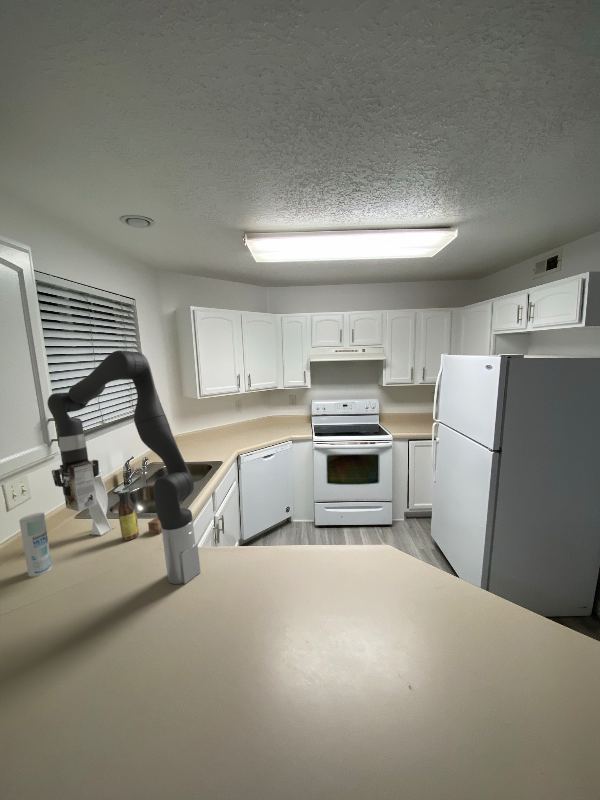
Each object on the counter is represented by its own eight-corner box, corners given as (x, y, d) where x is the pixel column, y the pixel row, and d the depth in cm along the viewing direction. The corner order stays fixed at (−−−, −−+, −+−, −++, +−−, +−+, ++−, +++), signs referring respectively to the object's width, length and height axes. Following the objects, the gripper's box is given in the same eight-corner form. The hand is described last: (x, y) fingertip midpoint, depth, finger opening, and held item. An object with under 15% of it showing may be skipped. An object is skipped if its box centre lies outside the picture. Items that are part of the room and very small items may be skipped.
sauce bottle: (142, 535, 123) (136, 489, 122) (126, 543, 118) (120, 495, 117) (134, 532, 127) (128, 487, 126) (119, 539, 122) (112, 492, 121)
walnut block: (167, 528, 128) (166, 517, 128) (159, 534, 123) (157, 523, 123) (157, 528, 129) (156, 517, 129) (149, 534, 124) (148, 522, 124)
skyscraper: (118, 528, 133) (109, 467, 131) (101, 537, 125) (92, 473, 123) (103, 527, 135) (95, 467, 133) (86, 536, 127) (77, 473, 126)
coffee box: (65, 508, 106) (58, 465, 105) (85, 501, 112) (79, 460, 111) (78, 511, 102) (71, 466, 101) (98, 504, 108) (92, 461, 107)
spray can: (36, 578, 100) (27, 521, 99) (23, 576, 102) (14, 520, 100) (56, 566, 106) (48, 512, 105) (44, 564, 108) (36, 512, 107)
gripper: (53, 453, 98) (61, 501, 99) (100, 443, 110) (106, 486, 111) (44, 452, 101) (51, 499, 102) (90, 442, 114) (96, 484, 115)
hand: (80, 492), depth 107 cm, fingers closed on coffee box, 6 cm apart
